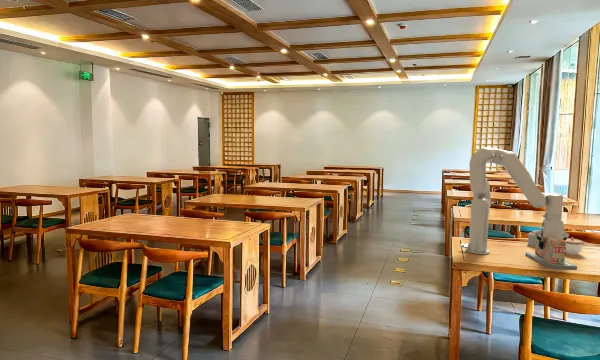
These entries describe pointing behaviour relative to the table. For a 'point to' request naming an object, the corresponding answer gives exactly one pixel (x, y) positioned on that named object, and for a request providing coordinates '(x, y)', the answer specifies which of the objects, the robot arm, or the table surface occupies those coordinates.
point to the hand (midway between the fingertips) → (550, 248)
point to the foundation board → (544, 262)
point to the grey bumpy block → (532, 238)
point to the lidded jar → (573, 246)
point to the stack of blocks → (552, 250)
